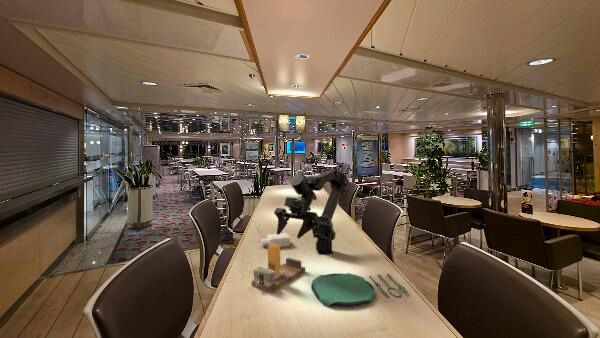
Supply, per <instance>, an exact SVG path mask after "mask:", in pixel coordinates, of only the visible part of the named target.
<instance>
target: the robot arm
mask: <svg viewBox="0 0 600 338" xmlns="http://www.w3.org/2000/svg"><path fill="white" fill-rule="evenodd" d="M327 183H329V184H330V186H329V187H330V188H331V191H330V194H329V195H328V198H327V200H326V203H325V206H324V208H323V211H322V213H321V215H320V216H319V215H318V213H317V212H313V211H311V205H312V203H313V201H316V200H318V198H317V195H316V192H320V191H321V190H322V189H323V188H324V186H325V184H327ZM289 184H290V186H291V187H292V189H293V191H294V192H295V193H296V194H297V195H298V198H297V197H289V196H287V197H285V201H284V205H283V206H284V207H287V208H288V211H290V212H288V211H287V210H286V208H282V207H276V208H275V210H274V212H273V214H274V216H275V217H276V218H277V228H276V229H277V230H276V234H278V235H279V234H280V233H283V230H285V229H284V228H285V227H286V226H287V225H288V222H289V221H290V219H293V220H294V219H295V220H300V221H301V220H302V223H301V224H302V225H301V227H300V228H299V230H298V233H297V236H296V238H297V239H298V240H299V239H301V238H302V237H303V236H305V234H307V233H308V232H310V231H312V235H313V238H314V239H316V241H315V251H316V252H317V254H318V255H324V254H326V255H328V254H334V252H333V241H334V240H335V239H336V232H335V230H334V225H333V224H334V223H333V222H332V221H333V220H332V219H333V217H334V215H335V212H336V209H337V207H338V204H339V201H340V198H341V196H342V194H344V193H345V192H346V191H347V189H348V188H349V186H350V179H349V178H348V177H347V175H346V174H344V173H342V172H341V171H340V170H339V169H337V168H329V169H328V170H326V171H324V172H322V173H320V174H317V175H308V176H305V174H304V173H303V172H298V173H297V174H295V175H293V176H292V177H291V178H290V180H289ZM315 191H316V192H315Z"/></svg>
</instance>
